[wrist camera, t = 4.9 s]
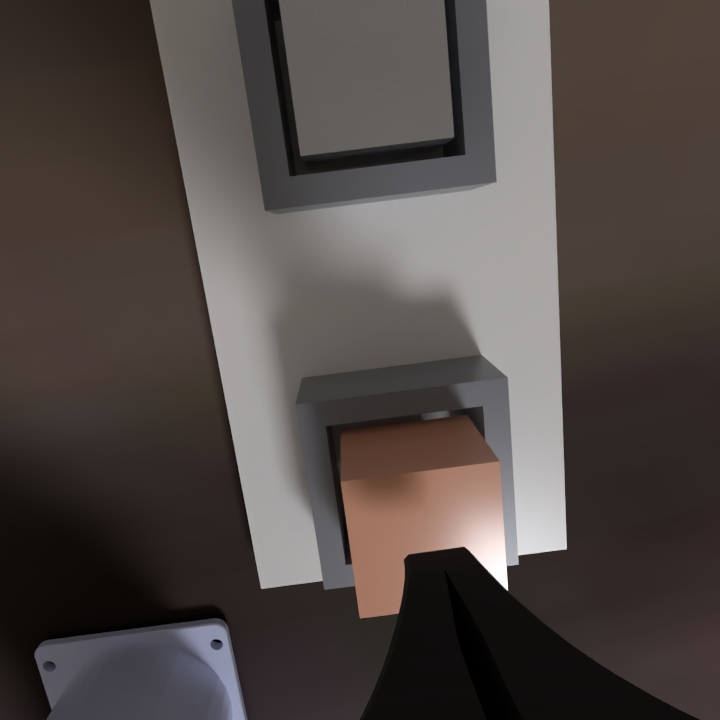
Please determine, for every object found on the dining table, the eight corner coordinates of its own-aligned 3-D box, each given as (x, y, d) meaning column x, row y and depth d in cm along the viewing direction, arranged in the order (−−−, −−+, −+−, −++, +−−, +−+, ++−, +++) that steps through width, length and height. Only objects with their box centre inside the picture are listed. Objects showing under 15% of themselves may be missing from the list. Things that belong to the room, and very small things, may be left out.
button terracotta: (476, 528, 18) (508, 599, 14) (355, 543, 18) (360, 618, 14) (466, 414, 17) (499, 461, 13) (340, 431, 17) (340, 481, 13)
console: (551, 528, 22) (603, 600, 18) (266, 565, 22) (248, 647, 18) (527, -83, 17) (592, -192, 13) (154, -39, 17) (90, -132, 13)
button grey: (431, 155, 17) (454, 136, 14) (308, 171, 17) (300, 156, 14) (419, 17, 16) (441, -40, 13) (289, 33, 16) (276, -20, 13)
